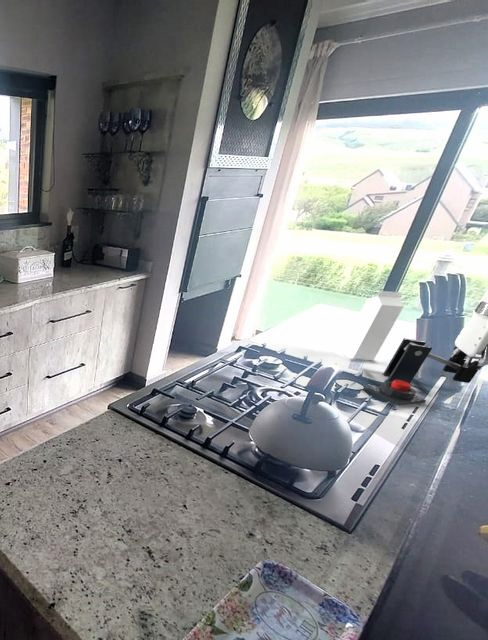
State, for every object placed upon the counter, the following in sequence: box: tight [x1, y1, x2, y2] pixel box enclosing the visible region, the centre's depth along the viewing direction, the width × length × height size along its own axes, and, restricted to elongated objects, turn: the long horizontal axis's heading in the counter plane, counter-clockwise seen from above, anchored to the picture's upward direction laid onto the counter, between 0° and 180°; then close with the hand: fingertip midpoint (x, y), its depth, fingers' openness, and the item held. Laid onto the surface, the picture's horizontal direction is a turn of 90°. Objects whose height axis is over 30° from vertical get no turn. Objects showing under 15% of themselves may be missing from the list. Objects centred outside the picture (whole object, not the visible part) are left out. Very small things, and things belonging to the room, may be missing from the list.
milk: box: [340, 290, 405, 361], centre depth 122 cm, size 6×6×22 cm
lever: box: [404, 342, 463, 370], centre depth 107 cm, size 13×5×2 cm, turn 63°
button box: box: [365, 380, 427, 411], centre depth 105 cm, size 9×8×4 cm
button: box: [391, 380, 412, 392], centre depth 104 cm, size 3×3×2 cm
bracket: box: [382, 337, 433, 384], centre depth 111 cm, size 11×9×13 cm
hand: (455, 375), depth 107 cm, fingers closed on lever, 5 cm apart
